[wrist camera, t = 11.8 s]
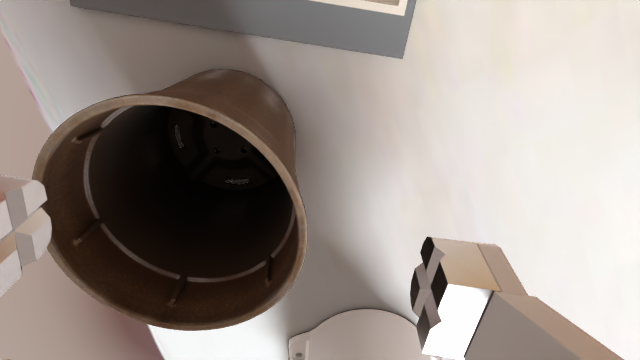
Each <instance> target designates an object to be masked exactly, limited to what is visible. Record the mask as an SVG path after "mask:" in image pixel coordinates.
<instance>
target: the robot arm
mask: <svg viewBox="0 0 640 360" xmlns="http://www.w3.org/2000/svg"><path fill="white" fill-rule="evenodd" d="M46 201H47V196H46V192H45V187H44V185H43V184H41V183H40V182H39V181H37V180H31V179H25V178H19V177H12V176H6V175H0V297H1V296H2V295H3V294H4V293H5V292H6V291H7V290H8V289H9V288H10V287H11V286H12V285H13V284H14V283H15V282H16V281H17V280H18V279H19V278H20V277H21V276H22V266H25V265H27V264H29V263H32V262H34V261H37V259H38V258H39V257H40V256H41V255H42V254H43V253H44V252H45V250H46V248H47V246H48V244H49V241H50V239H51V231H52V225H51V219H50V217H49V216H48V215H47V213H46V212H45V211H44V210H43V209H42V208H41V207H42V206H43V205H44V203H45V202H46ZM420 253H421V256H422V260H423V263H422V264H420V265H419V266H418V267H416V268H415V271H414V274H413V278H412V282H411V291H410V297H411V305H412V310H413V312H414V313H415V314H416V315H417V316H418V317H419V321H418V324H417V327H415V326H414V325H413V324H412V323H411V322H409V321H408V320H406V319H405V318H403V317H401V316H399V315H396V314H393V313H390V312H387V311H382V310H374V309H360V310H352V311H347V312H343V313H340V314H337V315H335V316H333V317H331V318H329V319H327V320H325V321H324V322H323V323H321V324H320V325H319V326H317V327H316V328H315V329H313V330H311V331H309V332H306V333H303V334H299V335H297V336H294V337H292V338H291V339H290V340H289V356H290V360H442V358H441V356H444V357H450V358H457V359H463V360H624V359H622V358H621V357H619V356H618V355H617V354H615V353H614V352H612V351H611V350H610V349H608V348H607V347H605V346H604V345H603V344H601V343H600V342H598V341H597V340H596V339H594V338H593V337H591V336H590V335H589V334H587V333H586V332H584V331H583V330H582V329H580V328H579V327H577V326H576V325H575V324H573V323H572V322H570V321H569V320H568V319H566V318H565V317H563V316H562V315H561V314H559V313H558V312H556V311H555V310H553V309H552V308H551V307H549V306H548V305H546V304H545V303H544V302H542V301H541V300H539V299H538V298H537V297H533V296H528V294H527V293H526V291H525V289H524V287H523V286H522V284H521V282H520V281H519V279H518V277H517V275H516V274H515V272H514V270H513V269H512V267H511V265H510V263H509V262H508V260H507V258H506V257H505V255H504V253H503V251H502V250H501V248H500V247H499V246H497V245H495V244H486V243H477V242H466V241H457V240H449V239H441V238H432V237H427V238H426V240H425V241H424V243H423V246H422V249H421V252H420ZM0 360H9V359H0Z"/></svg>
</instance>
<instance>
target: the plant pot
mask: <svg viewBox="0 0 640 360" xmlns="http://www.w3.org/2000/svg"><path fill="white" fill-rule="evenodd" d="M211 121H214V122H216V124H217V126H216V127H215V128H213V127H211V126H210V122H211ZM175 123H176V124H177V125H178V126H179V128H180V134H181V138H182V139H181V141H182V142H183V144H184V149H183V150H181V149H179V148H178V145H177V142H176V138H175V132H174V127H175ZM295 142H296V136H295V128H294V123H293V120H292V117H291V114H290V112H289V110H288V108H287V106H286V104H285V103H284V101H283V100H282V98H281V97H280V96H279V95H278V94H276V93H275V92H274V91H273V90H272V89H271V88H270V87H269V86H267V85H266V84H265V83H264V82H263V81H262V80H260V79H258V78H256V77H254V76H252V75H250V74H247V73H244V72H239V71H234V70H224V69H218V70H210V71H205V72H202V73H199V74H196V75H193V76H191V77H189V78H188V79H186V80H183V81H181V82H179V83H177V84H175V85H173V86H171V87H168V88H166V89H164V90H161V91H155V92H150V93H145V94H133V95H125V96H120V97H115V98H112V99H108V100H105V101H102V102H99V103H96V104H94V105H91V106H89V107H87V108H85V109H83V110H81V111H79V112H77V113H76V114H74V115H72V116H71V117H70V118H69V119H67V120H66V121H65V122H63V123H62V124H61V125H60V126H59V127H58V128H57V129H56V130H55V131H54V132H53V133H52V134H51V136H50V137H49V138H48V140H47V141H46V143H45V144H44V146H43V148H42V149H41V151H40V153H39V156H38V158H37V160H36V163H35V166H34V171H33V176H32V180H37V181H39V182H40V183H41V184H43V185H44V187H45V192H46V196H47V201H46V202H45V203H44V205H43V206H42V207H41V208H42V209H43V210H44V211H45V212H46V213H47V215H48V216H49V217H50V219H51V225H52V231H51V239H50V241H49V244H48V246H47V249H48V251H49V253H50V254H51V256H52V257H53V259H54V260H55V262H56V263H57V264H58V266H59V267H60V268H61V269H62V270H63V271H64V272H65V274H66V275H67V276H68V277H69V278H70V279H71V280H72V281H73V282H74V283H75V284H77V285H78V286H79V287H80V288H81V289H82V290H83V291H85V292H86V293H87V294H89V295H90V296H91V297H93V298H94V299H96V300H97V301H99V302H100V303H102V304H104V305H106V306H107V307H109V308H111V309H113V310H115V311H116V312H118V313H120V314H122V315H124V316H127V317H130V318H132V319H134V320H137V321H140V322H142V323H146V324H149V325H153V326H157V327H161V328H167V329H174V330H184V331H198V330H211V329H219V328H224V327H228V326H233V325H236V324H239V323H242V322H245V321H247V320H250V319H252V318H254V317H256V316H258V315H260V314H261V313H263V312H265V311H267V310H268V309H269V308H271V307H272V306H274V305H275V304H276V303H277V302H278V301H279V300H281V299H282V298H283V296H284V295H285V294H286V293H287V292H288V291H289V289H290V288H291V287H292V285H293V284H294V282H295V281H296V279H297V277H298V275H299V273H300V271H301V268H302V266H303V263H304V259H305V255H306V249H307V220H306V213H305V208H304V204H303V200H302V198H301V195H300V192H299V187H298V182H297V178H296V175H295ZM215 147H217V148H219V149H220V153H215V152H214V148H215ZM241 147H246V149H247V152H246V153H242V152H241V151H240V148H241ZM231 179H233V180H237V179H249V181H250V183H249V184H241V185H237V184H227V183H224V180H231Z"/></svg>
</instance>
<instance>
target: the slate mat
mask: <svg viewBox="0 0 640 360" xmlns="http://www.w3.org/2000/svg"><path fill="white" fill-rule="evenodd" d="M415 4H416V0H408V1H407V6H406V10H405V15H404V16H401V15H395V14H389V13H383V12H377V11H371V10H365V9H359V8H353V7H347V6H341V5H334V4H328V3H322V2H316V1H310V0H70V5H71V6H75V7H82V8H88V9H94V10H100V11H107V12H113V13H119V14H125V15H132V16H138V17H144V18H150V19H157V20H163V21H169V22H175V23H181V24H188V25H194V26H200V27H206V28H213V29H219V30H225V31H231V32H238V33H244V34H250V35H256V36H262V37H269V38H275V39H281V40H287V41H294V42H300V43H306V44H312V45H319V46H325V47H331V48H337V49H343V50H350V51H356V52H362V53H368V54H375V55H381V56H387V57H393V58H400V59H403V55H404V50H405V46H406V42H407V38H408V34H409V29H410V25H411V21H412V17H413V13H414V8H415Z"/></svg>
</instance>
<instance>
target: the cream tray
mask: <svg viewBox="0 0 640 360" xmlns="http://www.w3.org/2000/svg"><path fill="white" fill-rule="evenodd" d="M310 1H316V2H322V3H328V4H334V5H341V6H347V7H353V8H359V9H365V10H371V11H377V12H383V13H389V14H395V15H401V16H404V15H405V10H406V6H407V1H408V0H310Z"/></svg>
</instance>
